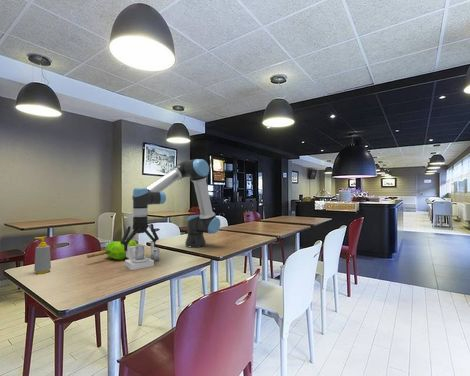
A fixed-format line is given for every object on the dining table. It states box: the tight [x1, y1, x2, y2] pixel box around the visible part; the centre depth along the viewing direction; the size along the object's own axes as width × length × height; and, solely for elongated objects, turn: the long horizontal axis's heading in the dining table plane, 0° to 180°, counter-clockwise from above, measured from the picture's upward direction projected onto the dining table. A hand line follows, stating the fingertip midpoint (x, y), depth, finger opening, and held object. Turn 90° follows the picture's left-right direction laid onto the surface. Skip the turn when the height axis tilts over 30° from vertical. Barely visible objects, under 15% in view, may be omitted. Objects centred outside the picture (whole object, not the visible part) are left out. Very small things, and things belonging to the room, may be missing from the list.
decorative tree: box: [86, 238, 138, 261], centre depth 157 cm, size 18×10×30 cm
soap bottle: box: [33, 236, 52, 275], centre depth 132 cm, size 7×7×18 cm
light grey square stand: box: [124, 244, 155, 271], centre depth 143 cm, size 12×12×10 cm
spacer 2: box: [150, 247, 160, 263], centre depth 154 cm, size 5×5×7 cm
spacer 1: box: [135, 244, 145, 260], centre depth 142 cm, size 5×5×7 cm
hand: (140, 255), depth 142 cm, fingers open, 13 cm apart
